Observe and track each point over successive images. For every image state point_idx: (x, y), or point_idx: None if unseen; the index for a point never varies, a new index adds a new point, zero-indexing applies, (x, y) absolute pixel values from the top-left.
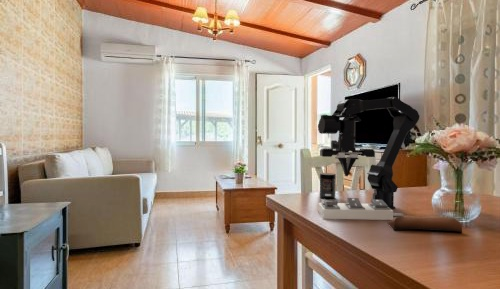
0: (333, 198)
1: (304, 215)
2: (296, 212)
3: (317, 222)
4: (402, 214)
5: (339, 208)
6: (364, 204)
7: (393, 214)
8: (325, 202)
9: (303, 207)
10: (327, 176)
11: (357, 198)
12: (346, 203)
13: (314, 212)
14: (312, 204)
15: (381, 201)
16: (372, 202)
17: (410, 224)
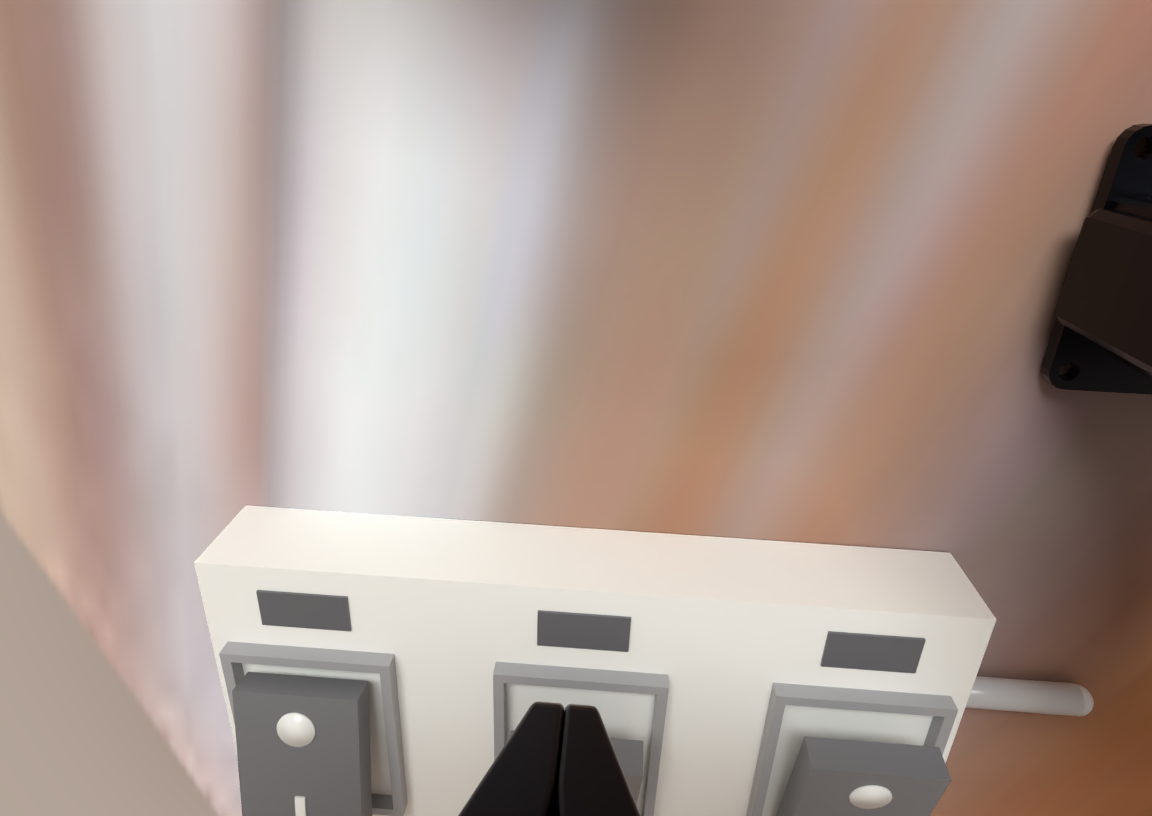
0: None
1: (120, 641)
2: (26, 545)
3: (239, 805)
4: (1070, 713)
5: (399, 809)
6: (748, 645)
7: (976, 707)
8: (245, 791)
9: (61, 326)
10: None
11: (630, 779)
12: (540, 597)
13: (207, 546)
14: (162, 132)
15: (903, 811)
16: (795, 783)
17: None
